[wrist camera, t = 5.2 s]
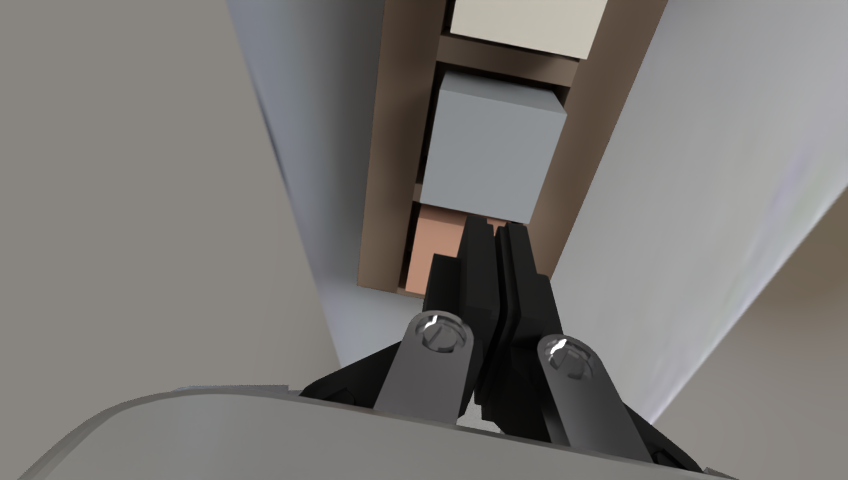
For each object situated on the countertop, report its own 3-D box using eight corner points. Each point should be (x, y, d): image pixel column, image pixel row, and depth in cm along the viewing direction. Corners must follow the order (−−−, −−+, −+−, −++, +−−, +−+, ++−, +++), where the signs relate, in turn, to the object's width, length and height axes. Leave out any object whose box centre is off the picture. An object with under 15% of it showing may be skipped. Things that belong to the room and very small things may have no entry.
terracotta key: (426, 185, 25) (418, 217, 22) (508, 201, 25) (513, 236, 22) (414, 252, 28) (405, 290, 24) (487, 267, 28) (489, 307, 24)
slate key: (446, 69, 20) (440, 89, 16) (552, 90, 19) (567, 114, 16) (428, 168, 22) (419, 202, 19) (521, 186, 22) (528, 224, 19)
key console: (373, 241, 30) (356, 285, 26) (420, -150, 18) (403, -187, 14) (525, 272, 30) (533, 320, 26) (665, -102, 18) (720, -125, 14)
